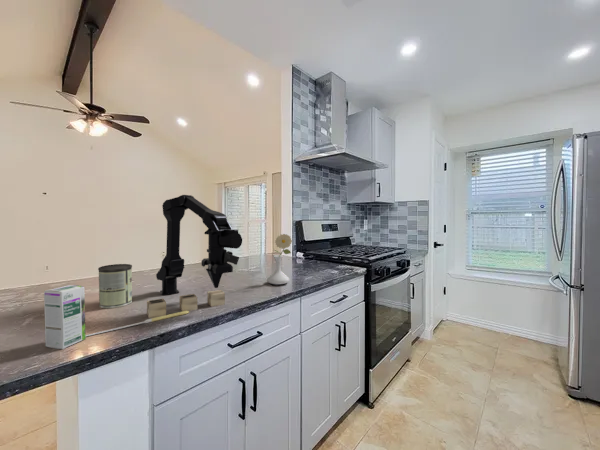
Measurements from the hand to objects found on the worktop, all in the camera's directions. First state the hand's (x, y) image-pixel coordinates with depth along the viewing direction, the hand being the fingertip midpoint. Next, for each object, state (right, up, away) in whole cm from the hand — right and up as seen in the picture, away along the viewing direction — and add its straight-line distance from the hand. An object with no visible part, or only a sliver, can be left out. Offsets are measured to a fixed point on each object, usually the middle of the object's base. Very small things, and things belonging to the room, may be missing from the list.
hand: (216, 287), depth 100 cm
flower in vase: (+22, -6, +32) cm, 39 cm away
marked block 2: (-8, -6, -5) cm, 12 cm away
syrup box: (-29, -7, -32) cm, 44 cm away
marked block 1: (-17, -6, -11) cm, 21 cm away
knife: (-19, -7, -20) cm, 28 cm away
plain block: (0, -6, 0) cm, 6 cm away
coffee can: (-37, -6, -1) cm, 37 cm away
